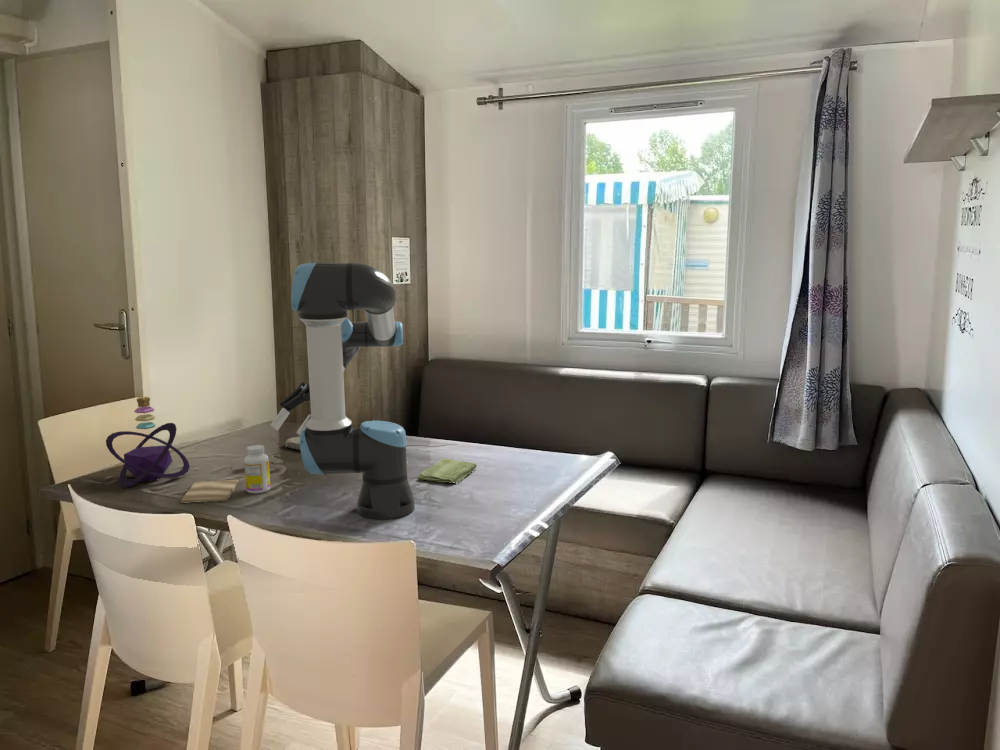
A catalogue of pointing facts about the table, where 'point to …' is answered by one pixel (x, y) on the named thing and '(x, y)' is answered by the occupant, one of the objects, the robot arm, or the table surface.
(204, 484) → the pad
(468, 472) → the washcloth
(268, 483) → the supplement bottle
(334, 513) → the table surface
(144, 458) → the decorative bottle
